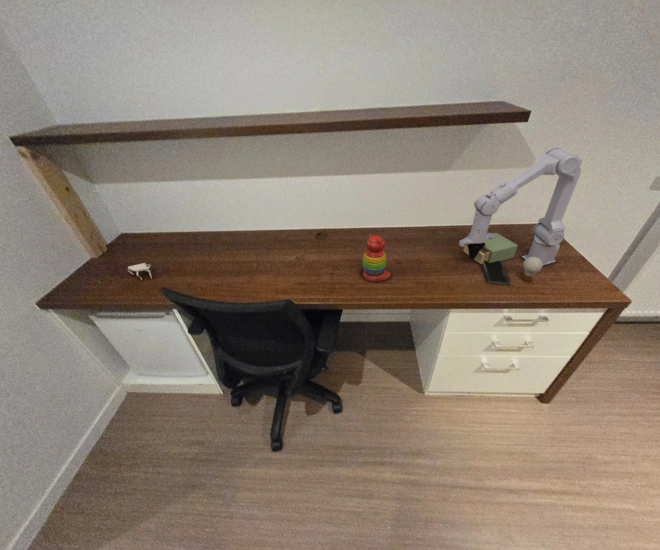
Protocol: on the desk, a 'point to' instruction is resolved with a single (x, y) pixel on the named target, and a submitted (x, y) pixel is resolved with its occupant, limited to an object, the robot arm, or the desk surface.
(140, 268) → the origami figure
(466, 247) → the drawer
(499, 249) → the cabinet
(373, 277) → the stacking bear
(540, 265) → the light bulb
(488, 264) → the phone
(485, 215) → the robot arm
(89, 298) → the desk surface
